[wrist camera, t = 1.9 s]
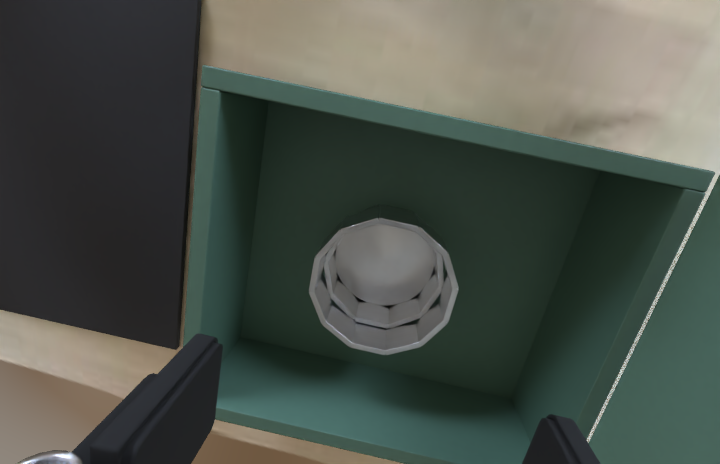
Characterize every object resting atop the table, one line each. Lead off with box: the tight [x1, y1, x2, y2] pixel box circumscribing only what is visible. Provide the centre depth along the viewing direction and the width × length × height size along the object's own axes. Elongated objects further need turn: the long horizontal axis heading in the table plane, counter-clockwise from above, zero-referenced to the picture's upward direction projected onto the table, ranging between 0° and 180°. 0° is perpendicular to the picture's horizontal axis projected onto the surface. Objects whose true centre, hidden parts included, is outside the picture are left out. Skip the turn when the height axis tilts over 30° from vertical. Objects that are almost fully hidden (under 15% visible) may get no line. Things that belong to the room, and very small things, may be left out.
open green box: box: [183, 65, 715, 464], centre depth 20 cm, size 20×17×7 cm
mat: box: [0, 0, 201, 350], centre depth 23 cm, size 22×13×1 cm, turn 169°
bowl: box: [309, 205, 459, 355], centre depth 20 cm, size 7×7×4 cm
